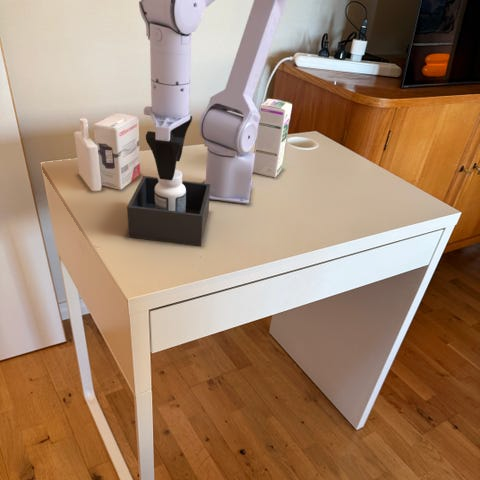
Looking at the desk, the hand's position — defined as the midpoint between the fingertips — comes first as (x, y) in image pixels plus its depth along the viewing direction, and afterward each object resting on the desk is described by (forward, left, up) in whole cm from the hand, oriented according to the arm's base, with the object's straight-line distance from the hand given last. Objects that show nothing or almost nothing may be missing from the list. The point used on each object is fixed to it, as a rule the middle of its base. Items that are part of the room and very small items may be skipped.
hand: (170, 169), depth 76 cm
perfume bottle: (+18, -11, -10) cm, 23 cm away
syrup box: (-17, -28, -10) cm, 34 cm away
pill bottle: (0, +1, -9) cm, 9 cm away
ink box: (+12, -14, -10) cm, 21 cm away
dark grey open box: (0, +1, -10) cm, 10 cm away
